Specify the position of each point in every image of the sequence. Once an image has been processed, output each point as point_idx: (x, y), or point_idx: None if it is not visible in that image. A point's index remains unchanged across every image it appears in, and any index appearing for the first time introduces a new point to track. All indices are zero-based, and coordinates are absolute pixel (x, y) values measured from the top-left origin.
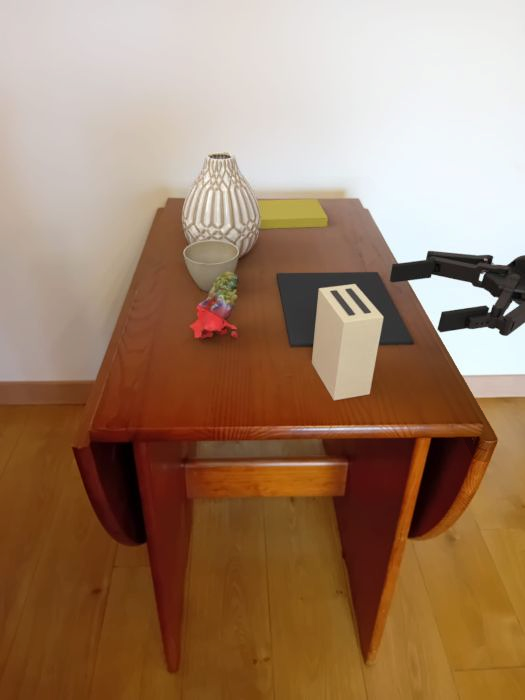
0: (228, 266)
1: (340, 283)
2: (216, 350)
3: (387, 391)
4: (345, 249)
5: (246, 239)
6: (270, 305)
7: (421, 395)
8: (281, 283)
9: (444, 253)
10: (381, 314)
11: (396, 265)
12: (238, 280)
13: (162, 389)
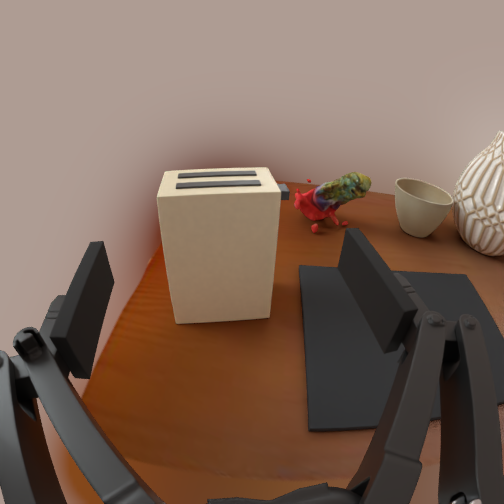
0: (409, 201)
1: None
2: (290, 221)
3: (175, 347)
4: None
5: (479, 223)
6: (393, 265)
7: (150, 388)
8: (444, 275)
9: (480, 358)
10: (165, 196)
11: (352, 231)
12: (358, 186)
13: None
